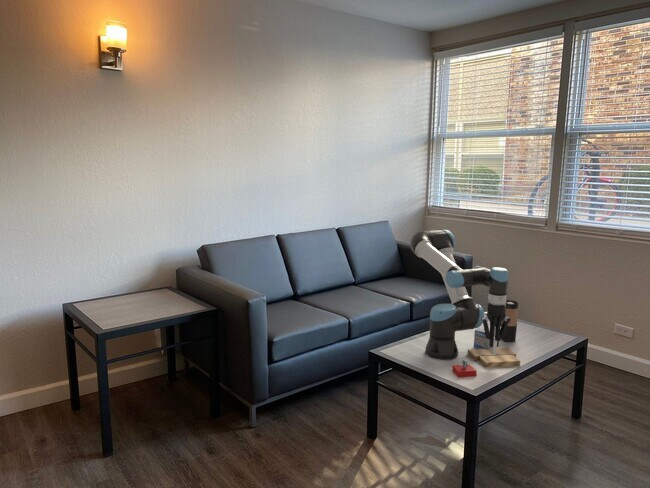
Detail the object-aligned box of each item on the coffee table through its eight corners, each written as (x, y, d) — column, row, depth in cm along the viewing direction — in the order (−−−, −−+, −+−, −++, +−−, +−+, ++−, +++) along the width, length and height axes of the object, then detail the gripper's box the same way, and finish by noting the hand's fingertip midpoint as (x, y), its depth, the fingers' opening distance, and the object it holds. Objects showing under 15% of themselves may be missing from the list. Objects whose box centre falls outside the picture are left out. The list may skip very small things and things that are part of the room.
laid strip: (474, 361, 234) (474, 356, 234) (467, 354, 242) (467, 349, 241) (515, 358, 236) (516, 353, 236) (507, 352, 244) (507, 347, 244)
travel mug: (518, 342, 257) (520, 304, 253) (502, 342, 257) (505, 304, 253) (512, 337, 264) (515, 300, 261) (498, 337, 264) (500, 300, 261)
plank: (485, 367, 227) (486, 362, 226) (479, 361, 234) (479, 356, 233) (519, 365, 229) (520, 360, 228) (512, 359, 236) (512, 354, 235)
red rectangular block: (469, 370, 225) (470, 356, 224) (476, 376, 218) (476, 362, 217) (452, 371, 223) (452, 357, 222) (458, 378, 217) (459, 364, 216)
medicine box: (473, 346, 252) (474, 330, 250) (477, 344, 255) (478, 327, 253) (488, 350, 246) (489, 333, 245) (492, 348, 249) (493, 331, 248)
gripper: (486, 306, 219) (482, 357, 223) (515, 305, 221) (511, 356, 225) (479, 300, 226) (475, 350, 231) (507, 299, 228) (503, 349, 232)
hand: (493, 353), depth 228 cm, fingers closed
